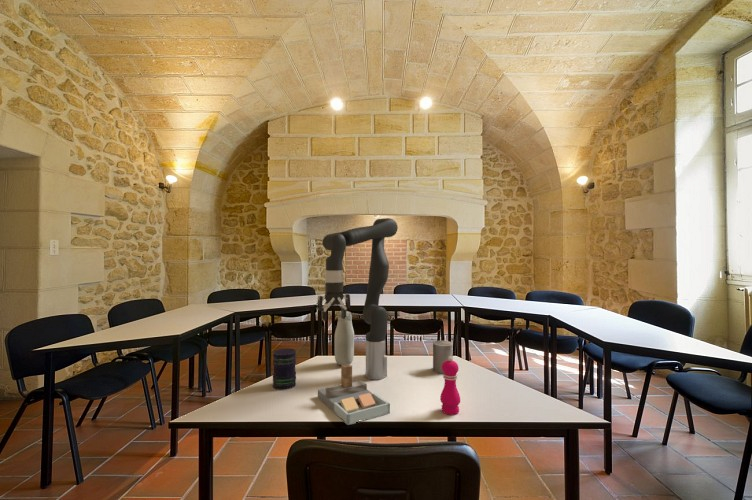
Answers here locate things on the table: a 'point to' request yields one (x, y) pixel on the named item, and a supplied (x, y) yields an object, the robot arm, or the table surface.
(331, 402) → the board
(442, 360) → the pillar candle
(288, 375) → the storage jar
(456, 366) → the pepper mill
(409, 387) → the table surface
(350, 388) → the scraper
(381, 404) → the tray
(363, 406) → the tile
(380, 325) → the robot arm
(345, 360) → the grey bottle
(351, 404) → the tile
